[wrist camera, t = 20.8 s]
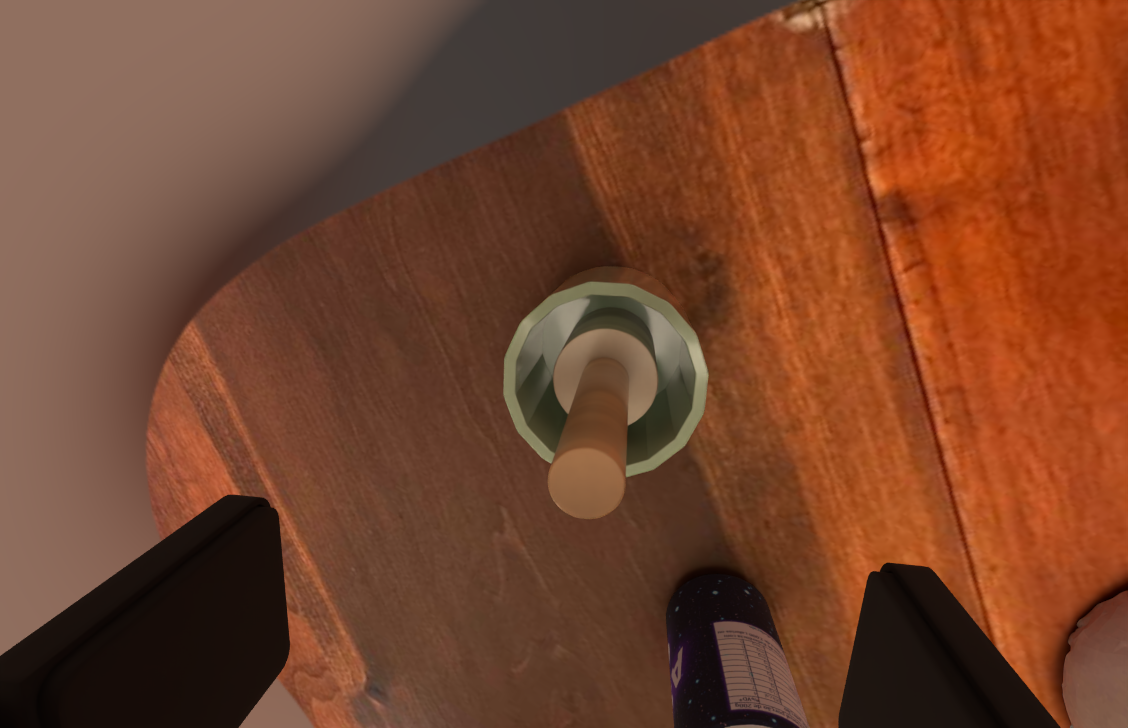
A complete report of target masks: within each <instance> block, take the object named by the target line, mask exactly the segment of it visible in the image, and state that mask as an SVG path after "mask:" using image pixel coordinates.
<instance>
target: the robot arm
mask: <svg viewBox="0 0 1128 728" xmlns="http://www.w3.org/2000/svg"><path fill="white" fill-rule="evenodd" d="M289 650H290V640H289V628H288V617H287V605H286V594H285V582H284V571H283V559H282V548H281V536H280V525H279V516H278V512H277V511H276V509H274V508H271V507H270V504H269V502H268V500H266V499H265V498H260V497H251V496H241V495H227V496H225V497H223V498H221V499H220V500H219V501H217V502H216V503H214V504H213V505H212V506H210V507H209V508H207V509H206V510H205V511H203V512H202V513H200V514H199V515H198V516H196V517H195V518H193V519H192V520H190V521H189V522H188V523H186V524H185V525H183V526H182V527H181V528H179V529H178V530H176V531H175V532H174V533H172V534H171V535H169V536H168V537H167V538H165V539H164V540H162V541H161V542H160V543H158V544H157V545H155V546H154V547H153V548H151V549H150V550H148V551H147V552H146V553H144V554H143V555H141V556H140V557H139V558H137V559H136V560H134V561H133V562H131V563H130V564H129V565H127V566H126V567H124V568H123V569H122V570H120V571H119V572H117V573H116V574H115V575H113V576H112V577H110V578H109V579H108V580H106V581H105V582H103V583H102V584H101V585H99V586H98V587H96V588H95V589H94V590H92V591H91V592H90V593H88V594H87V595H85V596H84V597H82V598H81V599H80V600H78V601H77V602H75V603H74V604H73V605H71V606H70V607H68V608H67V609H66V610H64V611H63V612H61V613H60V614H59V615H57V616H56V617H54V618H53V619H51V620H50V621H49V622H47V623H46V624H44V625H43V626H42V627H40V628H39V629H37V630H36V631H35V632H33V633H32V634H30V635H29V636H27V637H26V638H25V639H23V640H22V641H20V642H19V643H18V644H16V645H15V646H13V647H12V648H11V649H10V650H8V651H6V652H5V653H4V654H2V655H1V656H0V728H239V726H240V725H241V724H242V722H243V721H244V720H245V718H246V717H247V716H248V714H249V713H250V712H251V710H252V709H253V708H254V706H255V705H256V704H257V703H258V701H259V700H260V699H261V697H262V696H263V694H264V693H265V692H266V690H267V689H268V688H269V687H270V685H271V684H272V683H273V681H274V680H275V679H276V677H277V676H278V675H279V673H280V672H281V671H282V669H283V668H284V666H285V663H286V661H287V658H288V655H289ZM839 728H1061V727H1060V726H1059V725H1058V724H1057V722H1056V721H1055V720H1054V719H1053V718H1052V716H1051V715H1050V714H1049V713H1048V711H1047V710H1046V709H1045V708H1044V706H1043V705H1042V704H1041V703H1040V702H1039V700H1038V699H1037V698H1036V697H1035V695H1034V694H1033V693H1032V692H1031V690H1030V689H1029V688H1028V687H1027V685H1026V684H1025V683H1024V682H1023V681H1022V679H1021V678H1020V677H1019V676H1018V674H1017V673H1016V672H1015V671H1014V669H1013V668H1012V667H1011V666H1010V665H1009V663H1008V662H1007V661H1006V660H1005V658H1004V657H1003V656H1002V655H1001V653H1000V652H999V651H998V650H997V649H996V647H995V646H994V645H993V644H992V642H991V641H990V640H989V639H988V637H987V636H986V635H985V634H984V633H983V631H982V630H981V629H980V628H979V626H978V625H977V624H976V623H975V621H974V620H973V619H972V618H971V617H970V615H969V614H968V613H967V612H966V610H965V609H964V608H963V607H962V605H961V604H960V603H959V602H958V601H957V599H956V598H955V597H954V596H953V594H952V593H951V592H950V591H949V589H948V588H947V587H946V586H945V585H944V583H943V582H942V581H941V580H940V578H939V577H938V576H937V575H936V573H935V572H934V571H933V570H932V569H930V568H929V567H924V566H915V565H905V564H896V563H886V564H884V565H883V566H882V568H881V570H880V572H877V571H873V572H871V573H870V575H869V576H868V580H867V584H866V588H865V593H864V598H863V603H862V608H861V612H860V617H859V622H858V627H857V631H856V636H855V641H854V646H853V651H852V655H851V660H850V665H849V670H848V675H847V679H846V684H845V689H844V694H843V699H842V703H841V708H840V713H839Z"/></svg>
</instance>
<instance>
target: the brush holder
mask: <svg viewBox="0 0 1128 728" xmlns="http://www.w3.org/2000/svg"><path fill="white" fill-rule="evenodd" d="M606 307H616V308H621V309H625V310H628V311H630V312H632V313H634V314H635V315H637V316H638V317H639V318H640V319H641V320H642V321H643V322H644V323H645V324H646V326H647V327H648V329H649V330H650V333H651V335H652V338H653V342H654V349H655V356H656V363H657V370H658V389H657V393H656V396H655V399H654V401H653V403H652V405H651V406H650V408H649V409H648V411H647V412H646V413H645V414H644V415H643V416H642V417H641V418H640V419H638V420H637V421H635V422H634V423H632V424H630V425H628V429H627V456H626V477H629V476H632V475H636V474H639V473H643V472H647V471H650V470H653V469H655V468H657V467H658V466H659V465H661V464H662V463H663V462H664V461H666V460H667V459H668V458H670V457H671V456H672V455H674V454H675V453H676V452H678V451H679V450H680V449H682V448H683V447H684V445H686V443H687V442H688V440H689V438H690V436H691V435H692V433H693V431H694V429H695V428H696V426H697V424H698V423H699V421H700V419H701V417H702V416H703V414H704V411H705V403H706V394H707V386H708V377H709V373H708V372H709V371H708V368H707V365H706V362H705V359H704V355H703V352H702V349H701V346H700V343H699V339H698V336H697V334H696V332H695V330H694V328H693V326H692V324H691V322H690V321H689V319H688V317H687V315H686V313H685V311H684V309H683V307H682V305H681V304H680V303H679V302H678V301H677V300H676V298H675V297H674V296H673V294H672V293H671V292H670V291H669V290H668V289H667V288H666V287H665V286H664V284H663V283H661V282H660V281H658V280H656V279H655V278H653V277H651V276H650V275H648V274H646V273H643V272H641V271H639V270H636V269H634V268H633V269H632V268H628V267H621V266H601V267H600V266H599V267H596V268H592V269H589V270H585V271H583V272H581V273H578V274H576V275H573V276H571V277H569V278H568V279H567V280H566V281H565V282H563V283H562V284H561V285H560V286H559V287H558V288H557V289H556V290H555V291H554V292H552V293H551V294H550V295H549V296H548V297H547V298H546V299H545V300H544V301H543V302H541V303H540V304H539V305H538V306H537V307H536V308H535V309H534V310H533V311H532V312H531V313H529V314H528V315H527V316H526V317H525V318H524V319H523V320H522V321H521V323H520V324H519V326H518V328H517V330H516V333H515V335H514V337H513V339H512V341H511V343H510V346H509V348H508V350H507V352H506V354H505V358H504V385H503V395H504V399H505V401H506V404H507V406H508V409H509V412H510V414H511V417H512V419H513V422H514V425H515V427H516V430H517V431H518V433H519V434H520V435H521V436H522V437H523V438H524V439H525V440H526V441H527V442H528V443H529V445H530V446H531V447H532V448H533V449H534V450H535V451H536V452H537V453H538V454H539V455H540V456H541V457H542V458H544V460H546V461H548V462H550V463H552V461H553V458H554V455H555V452H556V449H557V446H558V443H559V440H560V437H561V434H562V431H563V428H564V425H565V423H566V420H567V417H568V413H567V412H566V411H565V410H564V409H563V408H562V406H561V404H560V403H559V401H558V399H557V397H556V394H555V390H554V385H553V371H554V366H555V363H556V360H557V358H558V356H559V354H560V352H561V350H562V348H563V347H564V345H565V343H566V341H567V339H568V337H569V336H570V334H571V332H572V330H573V328H574V327H575V325H576V324H577V323H578V321H579V320H580V319H581V318H583V317H584V316H585V315H586V314H588V313H590V312H592V311H594V310H597V309H600V308H606Z"/></svg>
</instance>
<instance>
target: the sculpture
mask: <svg viewBox="0 0 1128 728" xmlns="http://www.w3.org/2000/svg"><path fill="white" fill-rule="evenodd" d="M1077 626H1078V627H1079V628H1078V629H1076V632H1073V633H1072V634H1071V635H1070V638H1069V640H1068V643H1069V644H1070V646H1071V651H1070V652H1069V653H1068V654H1067V655H1066V658H1065V663H1064V669H1063V683H1062V689H1063V693H1062V695H1063V699H1064V702H1065V706H1066V710H1067V713H1068V716H1069V719H1070V721H1071V723H1072V725H1071V727H1070V728H1128V590H1127V591H1124V592H1121V593H1120V594H1118V595H1117V596H1115V597H1114V598H1112V599H1109V600H1107V601H1104V602H1102V603H1099V604H1097V605H1096V606H1095V607H1094V608H1093V609H1092V610H1091V611H1090V612H1089V613H1088V614H1087V615H1086V616H1084V617H1083V618H1082V619H1080V620H1079V621H1078V623H1077Z"/></svg>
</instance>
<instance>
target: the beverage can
mask: <svg viewBox="0 0 1128 728" xmlns="http://www.w3.org/2000/svg"><path fill="white" fill-rule="evenodd" d="M666 624H667V637H668V650H669V664H670V677H671V690H672V703H673V716H674V728H809V725H808V722H807V719H806V716H805V713H804V710H803V707H802V704H801V701H800V699H799V696H798V693H797V690H796V687H795V684H794V681H793V678H792V675H791V672H790V669H789V666H788V663H787V660H786V657H785V654H784V651H783V648H782V645H781V643H780V640H779V637H778V634H777V631H776V628H775V625H774V622H773V619H772V616H771V613H770V610H769V607H768V605H767V602H766V600H765V599H764V597H763V596H762V594H761V593H760V592H759V591H758V590H757V589H756V588H755V587H754V586H752V585H751V584H750V583H748V582H746V581H744V580H742V579H740V578H737V577H734V576H731V575H725V574H709V575H704V576H700V577H697V578H694V579H692V580H690V581H688V582H686V583H685V584H684V585H682V586H681V587H680V588H679V589H678V590H677V591H676V592H675V593H674V595H673V596H672V598H671V600H670V602H669V604H668V607H667V612H666Z"/></svg>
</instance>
